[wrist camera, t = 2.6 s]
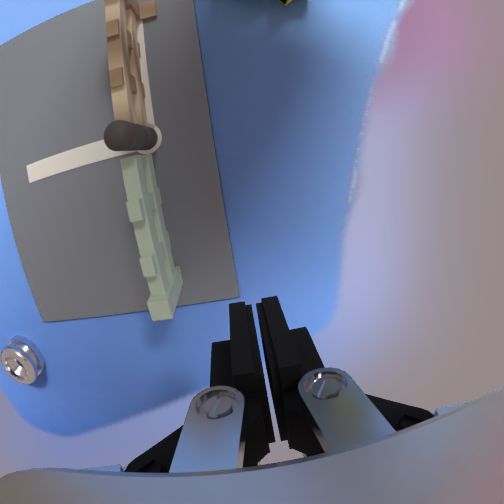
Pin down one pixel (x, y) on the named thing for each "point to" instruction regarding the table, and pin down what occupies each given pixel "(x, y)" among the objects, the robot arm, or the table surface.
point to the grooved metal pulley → (22, 360)
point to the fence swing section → (151, 235)
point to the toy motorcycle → (285, 2)
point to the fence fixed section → (127, 76)
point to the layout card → (108, 164)
